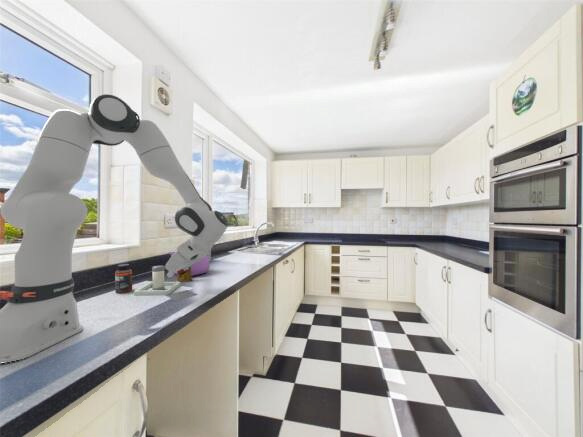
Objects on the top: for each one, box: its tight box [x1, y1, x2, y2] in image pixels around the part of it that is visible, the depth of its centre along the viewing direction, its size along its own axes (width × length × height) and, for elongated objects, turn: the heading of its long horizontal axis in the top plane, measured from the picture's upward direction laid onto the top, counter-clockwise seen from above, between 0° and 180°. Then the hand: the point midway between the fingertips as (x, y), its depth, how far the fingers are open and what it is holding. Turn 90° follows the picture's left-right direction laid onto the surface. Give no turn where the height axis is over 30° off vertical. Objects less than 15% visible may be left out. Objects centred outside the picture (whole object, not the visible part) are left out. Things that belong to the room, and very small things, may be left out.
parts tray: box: [133, 281, 181, 296], centre depth 103 cm, size 13×13×2 cm
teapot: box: [167, 251, 210, 278], centre depth 133 cm, size 23×21×15 cm
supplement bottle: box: [114, 263, 133, 294], centre depth 104 cm, size 6×6×11 cm
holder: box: [165, 289, 199, 302], centre depth 97 cm, size 9×9×1 cm
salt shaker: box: [151, 264, 166, 290], centre depth 103 cm, size 4×4×10 cm
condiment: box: [175, 266, 193, 283], centre depth 119 cm, size 7×8×12 cm
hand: (177, 272), depth 98 cm, fingers open, 8 cm apart
